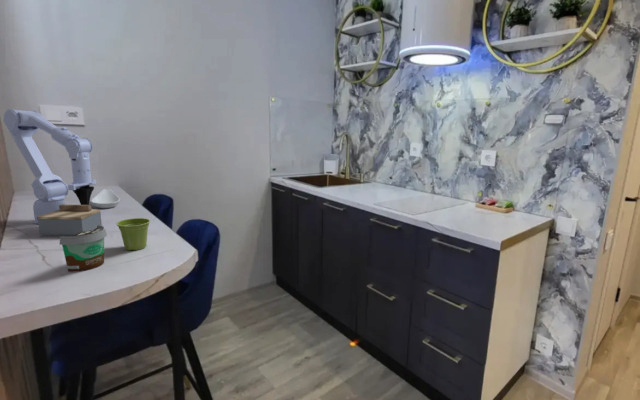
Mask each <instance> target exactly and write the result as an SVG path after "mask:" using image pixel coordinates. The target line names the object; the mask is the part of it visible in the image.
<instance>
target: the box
mask: <svg viewBox="0 0 640 400" xmlns="http://www.w3.org/2000/svg"><path fill="white" fill-rule="evenodd" d="M101 212H102V211H100V212H98V213H96V214H94V215H91V216H89V217H87V218H84V219H82V220H69V219H38V223H37V224H38V231H39V236H40V237H61V236H63V237H71V236H74V235H76V234H78V233H80V232H84V231H90V230H93V229H96V228H97V225H100V226H103V224H102V214H101Z"/></svg>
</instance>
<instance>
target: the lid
mask: <svg viewBox="0 0 640 400" xmlns="http://www.w3.org/2000/svg"><path fill="white" fill-rule="evenodd" d="M98 212H101V208H99V209H98V208H97V209H96V208H95V209H93V208H92V205H91V204H89V205H81V204H65V205H64V204H62V205H59V210H56V211H53V212H50V213H47V214H44V215H41V216H38V219H69V220H82V219H84V218H87V217H89V216H91V215H94V214H96V213H98Z"/></svg>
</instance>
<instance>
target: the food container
mask: <svg viewBox="0 0 640 400" xmlns="http://www.w3.org/2000/svg"><path fill="white" fill-rule="evenodd" d="M107 235H108V234H107V230H106V229H105V227H104V226H103V225H102V226H100V225H97V228H96V229H93V230H90V231H84V232H80V233H78V234H76V235H74V236H60V239H59V245H62V251H63V253H64V259H65V263H66V268H67V271H68V272H85V271H88V270H89V271H90V270H93V269H94V270H95V269H96V268H99V267H101V266H102V265H104V264H105V238H107Z"/></svg>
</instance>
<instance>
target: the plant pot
mask: <svg viewBox="0 0 640 400" xmlns="http://www.w3.org/2000/svg"><path fill="white" fill-rule="evenodd" d="M150 222H151V219H149V218H146V217H145V218H144V217H135V218H134V217H133V218H127V219H126V218H125V219H122V220H119V221H117V223H116V226H117V227H118V229H119V232H120V234H121V237H122V238H121V239H122V241H123V242H122V243H123V246H124V249H125V250H126V251H139V250H142V249H145V248H146V247H147V243H148V242H147V241H148V231H149V225H150Z"/></svg>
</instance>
